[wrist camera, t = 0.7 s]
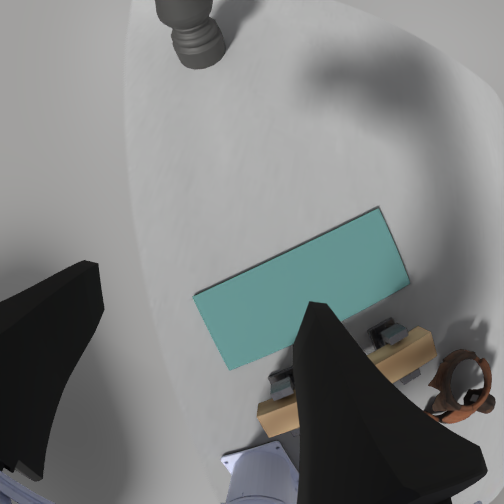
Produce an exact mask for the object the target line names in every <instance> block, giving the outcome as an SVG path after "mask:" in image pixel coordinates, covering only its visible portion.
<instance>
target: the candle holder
mask: <svg viewBox="0 0 504 504" xmlns="http://www.w3.org/2000/svg"><path fill="white" fill-rule="evenodd" d="M155 4H156V12H157V15H158V17H159V19H160V21H161V22H162V23H164V24H165V25H167V26H169V27H171V28H172V29H173V30H172V34H171V38H172V41H173V47H174V49H175V51H176V53H177V55H178V57H179V59H180V61H181V63H182V64H183V65H184V66H186V67H187V68H191V69H204V68H207V67H210V66H212V65H214V64H215V63H217V62H218V61H220V60H221V58H222V57H223V55H224V54H225V44H224V40H223V36H222V32H221V30H220V29H219V27H218V25H217V23H216V22H215V20H214V19H212V18H211V17H209V14H210V12H211V9H212V4H213V0H155Z"/></svg>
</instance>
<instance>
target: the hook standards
mask: <svg viewBox="0 0 504 504" xmlns="http://www.w3.org/2000/svg"><path fill="white" fill-rule="evenodd" d="M368 332H369V334H370V337H371V339H372V342H373V344H374V347H375V350H378V349H380V348H382V347H383V346H385V345H387V344H390V345H391V346H392V345H393V344H395V343H397V342H398V341H400V340H402V339H403V338H405V337H407V336H408V335H409V334H408V331H407V328H405V327H403V326H401V325H400V324H398V323H396V324H395V323H394V320H393V318H389V319H387V320H385V321H384V322H382V323H380V324H378V325H376V326H375V327H373V328H371V329H369V330H368ZM419 375H421V374H420V370H419V368H418V369H416V370H414V371H413V372H411V373H409V374H408V375H406V376H404V377H403V378H401V379H399V380H400V381H401V382H402V383H403V384H406V383H408V382H409V381H411V380H413V379H414V378H416V377H418V376H419ZM268 379H269V381H270V383H271V396H272V398H273V400H274V401H275V400H278V399H281V398H283V397H286V396H288V395H291V394H293V393H294V390H295V383H294V375H293V367H290V368H288V369H286V370H283V371H281V372H279V373H276V374H274V375H271V376H269V377H268ZM291 433H292V435H293V436H297V435H299V434H300V427H298V428H296V429H293V430H291Z"/></svg>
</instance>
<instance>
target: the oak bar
mask: <svg viewBox="0 0 504 504" xmlns="http://www.w3.org/2000/svg"><path fill="white" fill-rule="evenodd" d="M408 334H409V335H408V336H407V337H405V338H403V339H402V340H400V341H398V342H397V343H395V344H393V345H392V346H391V345H390V344H387V345H385V346H383V347H382V348H380V349H378V350H376V351H374V352H372V353H371V354H369V355H367V356H368V358H369V359H370V360H371V361H372V362H373V363H374V365H375V366H376V367H377V368H378V369H379V370H380V371H381V373H382V374H383V375H384V376H385V377H386V378H387V379H388V380H389V381H390V382H391V383H394V382H396V381H397V380H399V379H401V378H403V377H404V376H406V375H408V374H409V373H411V372H413V371H414V370H416V369H418V368H419V367H421V366H422V365H424V364H425V363H427V362H429V361H430V360H432V359H433V358H435V357H436V356H437V353H436V349H435V345H434V342H433V338H432V335H431V332H430V331H428V330H425V329H423V328H421V327H419V326H417V327H416V328H414V329H412V330H411V331H409V332H408ZM257 418H258V420H259V422H260V423H261V425H262V427H263V429H264V430H265V432H266V434H267V435H268V437H269V438H270V437H273V436H276V435H279V434H282V433H285V432H288V431H290V430H293V429H296V428H298V427H299V418H298V409H297V400H296V392H295V390H294V393H293V394H291V395H288V396H286V397H283V398H281V399H278V400H275V401H274V400H273V398H272V399H269V400H267V401H264V402H261V403H259V404H258V411H257Z"/></svg>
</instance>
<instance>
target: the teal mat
mask: <svg viewBox="0 0 504 504" xmlns="http://www.w3.org/2000/svg"><path fill="white" fill-rule="evenodd" d="M408 284H410V281H409V279H408V276H407V273H406V271H405V268H404V266H403V263H402V261H401V258H400V256H399V253H398V251H397V248H396V246H395V244H394V241H393V239H392V237H391V234H390V232H389V230H388V228H387V225H386V223H385V221H384V219H383V217H382V214H381V212H380V210H379V208H378V209H376V210H374V211H372V212H370V213H368V214H366V215H364V216H362V217H359V218H357V219H355V220H353V221H351V222H349V223H347V224H345V225H343V226H341V227H339V228H337V229H335V230H333V231H331V232H329V233H327V234H325V235H323V236H320V237H318V238H316V239H314V240H312V241H310V242H308V243H306V244H304V245H302V246H300V247H298V248H295V249H293V250H291V251H289V252H287V253H285V254H283V255H281V256H279V257H277V258H275V259H272V260H270V261H268V262H266V263H264V264H262V265H260V266H258V267H255V268H253V269H251V270H249V271H247V272H245V273H243V274H241V275H238V276H236V277H234V278H232V279H230V280H228V281H226V282H223V283H221V284H219V285H217V286H215V287H213V288H211V289H208V290H206V291H204V292H202V293H200V294H198V295H195V296H193V299H194V302H195V304H196V306H197V308H198V310H199V312H200V314H201V316H202V318H203V320H204V322H205V324H206V326H207V328H208V330H209V332H210V334H211V336H212V338H213V340H214V342H215V344H216V346H217V348H218V350H219V352H220V354H221V356H222V358H223V360H224V362H225V363H226V365H227V367H228V369H229V371H230V370H232V369H235V368H237V367H240V366H243V365H245V364H248V363H250V362H253V361H255V360H257V359H260V358H262V357H265V356H267V355H269V354H272V353H274V352H276V351H279V350H281V349H283V348H286V347H288V346H290V345H292V344H294V341H295V339H296V336H297V333H298V331H299V328H300V325H301V323H302V320H303V317H304V314H305V312H306V309H307V306H308V303H309V301H313V302H320V303H327V304H328V306H329V307H330V308H331V309H332V311H333V312H334V313H335V315H336V316H337V317H338V319H339V320H340V322H341V321H343V320H345V319H347V318H349V317H350V316H352V315H354V314H356V313H358V312H360V311H362V310H364V309H366V308H368V307H369V306H371V305H373V304H375V303H377V302H379V301H380V300H382V299H384V298H386V297H388V296H389V295H391V294H393V293H395V292H396V291H398V290H400V289H402V288H403V287H405V286H407V285H408Z"/></svg>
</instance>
